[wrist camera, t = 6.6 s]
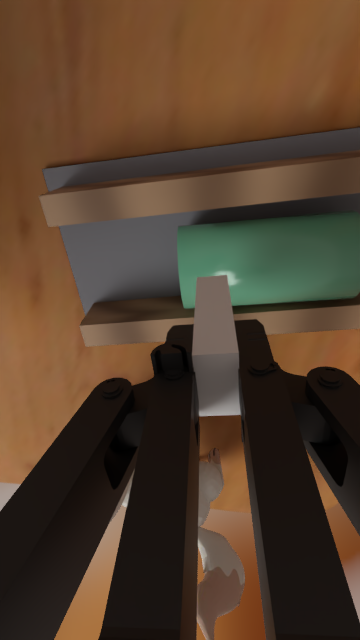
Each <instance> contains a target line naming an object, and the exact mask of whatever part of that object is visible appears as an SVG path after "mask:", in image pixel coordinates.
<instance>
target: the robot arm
mask: <svg viewBox="0 0 360 640" xmlns="http://www.w3.org/2000/svg"><path fill="white" fill-rule="evenodd" d="M151 360H152V365H153V370H154V377H153V378H152V379H150V380H148V381H146V382H143V383H140V384H137V385H133V386H132V385H131V383H130V382H129V381H128V380H127V379H124V378H112V379H108V380H105V381H103V382H102V383H100V384H99V385H98V386H96V387H95V388H94V390H93V391H92V392H91V394H90V395H89V396H88V397H87V399H86V400H85V401H84V403H83V404H82V405H81V407H80V408H79V409H78V411H77V412H76V413H75V414H74V416H73V417H72V418H71V420H70V421H69V422H68V424H67V425H66V426H65V428H64V429H63V430H62V431H61V433H60V434H59V435H58V437H57V438H56V439H55V441H54V442H53V443H52V445H51V446H50V447H49V448H48V450H47V451H46V452H45V454H44V455H43V456H42V458H41V459H40V460H39V462H38V463H37V464H36V465H35V467H34V468H33V469H32V471H31V472H30V473H29V475H28V476H27V477H26V479H25V480H24V481H23V482H22V484H21V485H20V487H19V488H18V489H17V490H16V492H15V493H14V495H13V496H12V497H11V498H10V499H9V501H8V502H7V503H6V505H5V506H4V507H3V509H2V510H1V511H0V640H54V638H55V636H56V634H57V632H58V630H59V628H60V625H61V623H62V621H63V619H64V617H65V615H66V613H67V610H68V608H69V606H70V604H71V602H72V600H73V598H74V596H75V594H76V592H77V589H78V587H79V585H80V583H81V581H82V579H83V577H84V575H85V573H86V570H87V568H88V566H89V564H90V562H91V560H92V558H93V556H94V554H95V552H96V549H97V547H98V545H99V543H100V541H101V539H102V537H103V534H104V533H105V530H106V528H107V526H108V524H109V522H110V520H111V518H112V516H113V514H114V512H115V509H116V507H117V505H118V503H119V501H120V499H121V497H122V495H123V493H124V490H125V488H126V486H127V484H128V482H129V480H130V478H131V476H132V474H133V471H134V475H133V480H132V485H131V489H130V494H129V499H128V504H127V509H126V514H125V519H124V523H123V528H122V533H121V538H120V543H119V548H118V552H117V557H116V562H115V567H114V572H113V576H112V581H111V586H110V591H109V595H108V600H107V605H106V611H105V615H104V620H103V624H102V629H101V633H100V636H99V639H98V640H196V628H197V567H198V566H197V565H198V562H197V561H198V508H199V448H200V425H199V416H223V415H241V430H242V442H243V445H244V453H245V462H246V471H247V479H248V488H249V496H250V505H251V513H252V522H253V530H254V539H255V548H256V556H257V564H258V573H259V582H260V590H261V599H262V607H263V616H264V625H265V633H266V640H360V622H359V619H358V616H357V612H356V609H355V606H354V603H353V599H352V596H351V593H350V590H349V587H348V583H347V580H346V577H345V574H344V571H343V567H342V564H341V561H340V558H339V555H338V551H337V548H336V545H335V542H334V538H333V535H332V532H331V529H330V526H329V522H328V519H327V516H326V513H325V509H324V506H323V503H322V500H321V497H320V493H319V490H318V487H317V484H316V480H315V477H314V474H313V471H312V468H311V464H310V461H309V458H308V455H307V452H306V450H307V451H308V453H309V455H310V456H311V458H312V460H313V461H314V463H315V464H316V466H317V468H318V469H319V471H320V472H321V474H322V476H323V477H324V479H325V481H326V482H327V484H328V485H329V487H330V489H331V490H332V492H333V493H334V495H335V497H336V498H337V500H338V502H339V503H340V505H341V506H342V508H343V509H344V511H345V513H346V514H347V516H348V518H349V519H350V521H351V523H352V524H353V526H354V527H355V529H356V531H357V532H358V534H359V535H360V385H359V384H358V383H357V382H356V381H355V380H354V379H353V378H352V377H351V376H350V375H348V374H347V373H346V372H344V371H342V370H340V369H337V368H333V367H317V368H315V369H312V370H311V371H310V372H309V373H308V374H307V377H305V376H299V375H294V374H290V373H287V372H285V371H283V370H282V369H281V368H280V366H279V365H278V363H276V362H275V361H274V359H273V356H272V352H271V349H270V345H269V342H268V340H267V335H266V332H265V329H264V325H263V324H262V323H260V322H259V321H258V320H257V319H250V320H235V321H234V317H233V311H232V304H231V297H230V291H229V284H228V277H227V275H220V276H208V277H197V282H196V298H195V314H194V324H187V325H173V326H172V327H171V329H170V330H169V331H168V332H167V337H166V342H165V344H162V345H160V346H158V347H156V348H155V349H154V350H153V351H152V353H151ZM134 469H135V470H134Z"/></svg>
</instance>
